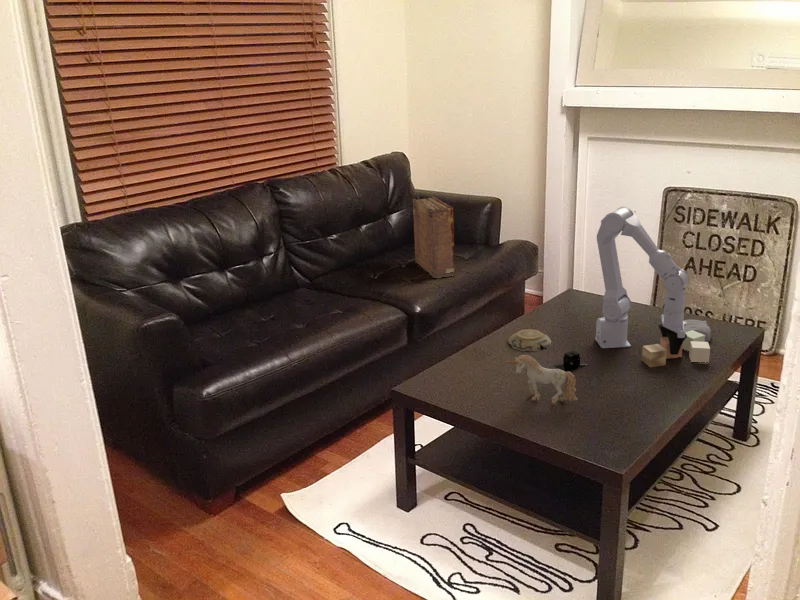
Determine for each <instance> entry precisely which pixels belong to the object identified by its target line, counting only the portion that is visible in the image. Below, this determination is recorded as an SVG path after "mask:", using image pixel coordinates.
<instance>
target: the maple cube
mask: <svg viewBox="0 0 800 600" xmlns="http://www.w3.org/2000/svg"><path fill="white" fill-rule="evenodd" d="M666 351H667V350H666V349H664V348H663V347H662V346H660V343H656V344H655V343H654V344H647V345H642V352H641V362H642V363H644V364H645V365H647V366H648V367H649V368H655V367H663V366H666V362H667V361H666V360H667V358H666Z"/></svg>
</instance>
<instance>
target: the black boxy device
mask: <svg viewBox="0 0 800 600" xmlns="http://www.w3.org/2000/svg"><path fill="white" fill-rule="evenodd" d="M563 355H564V356H563V362H562V363H559V364H555V365H554V366H555V367H554V368H555V369H561V370H563V371H565V372H568V371H569V372H573V371H575V370H578V369H582V368H584V367H587V366H588V367H589V366H590V364H588V363H586V362H585V361H583V360H582V359H581V356H580V352H577V351H575V350H571V351H567V352H564V354H563Z"/></svg>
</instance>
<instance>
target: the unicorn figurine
mask: <svg viewBox="0 0 800 600" xmlns="http://www.w3.org/2000/svg"><path fill="white" fill-rule="evenodd" d="M514 359H515V360H505V363H508V364H515V366H516V371H515V373H516V374H517V375H521V374H522V372H523V371H522V370H523V369H524V368H526V369H527V370H526V371H527V372H526V373H527V377H528V380H527V386H528V389H529V391H530V392H531V394H532V395H533V396H532V398H531V399H530V400H531V401H532V400H533V401H532V402H536V400H537V401H540V397H541V393H540V392H539V391H538V389H539V388H538V384H537V383H540V384H544V385H549V384H552V385H553V386H554V388H555V390H556V391H557V393H555V395H553V396H552V397H551V405H552V406H555V404H557V401H558V402H561V403H562V402H563V401H567V400H569V401H570V402H572V400H573V401H578V397H576V395H575V393H576V391H577V389H576V387H575V386H576V382H577V380H576V378H575V375H574V374H573V373H572V371H568V372H565V371H563V370H561V369H558V368H546V367H543V366H541V364H540V363H539V361H537V360H536V359H535V358H534V357H533V356H530V355H528V354H522V355H519V356H518V357H516V356H514ZM565 383H566V384H565ZM534 395H535V396H534ZM561 395H562V396H561ZM559 396H560V397H559Z"/></svg>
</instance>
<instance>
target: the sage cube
mask: <svg viewBox="0 0 800 600" xmlns="http://www.w3.org/2000/svg"><path fill="white" fill-rule="evenodd" d="M685 334H686V335H687V338H686V339H685V340H684V341H683V347H682V350H683V349H684V351H686V350H687V351H686V352H688V351H689V350H690V341H698V342H706V341H705V335H703V334H701V333H698V332H696V331H694V330H691V331H688V332H685Z"/></svg>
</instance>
